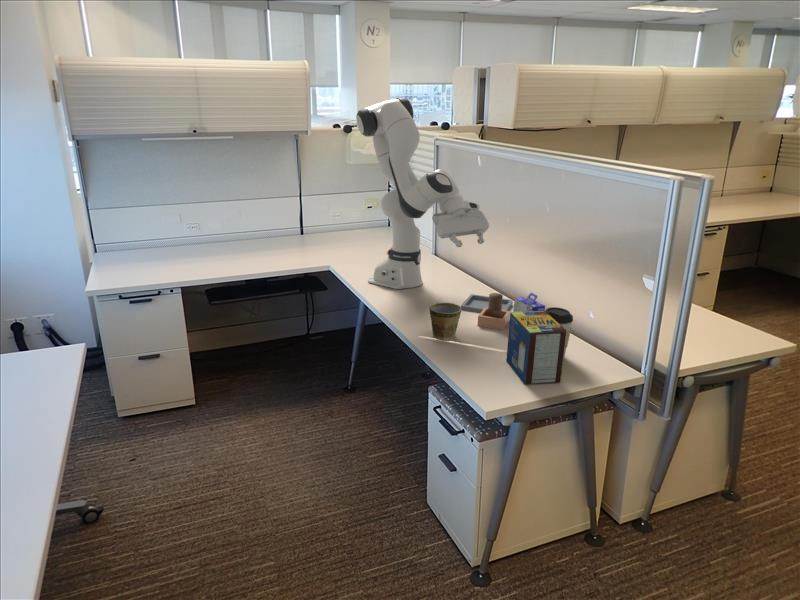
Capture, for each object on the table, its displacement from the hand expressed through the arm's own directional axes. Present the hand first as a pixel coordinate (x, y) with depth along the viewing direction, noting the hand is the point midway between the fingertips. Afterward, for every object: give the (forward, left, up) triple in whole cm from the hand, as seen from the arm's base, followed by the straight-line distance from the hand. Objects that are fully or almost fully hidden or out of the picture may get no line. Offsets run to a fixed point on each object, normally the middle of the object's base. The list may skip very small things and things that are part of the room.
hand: (471, 244), depth 194 cm
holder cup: (+11, -6, -25) cm, 28 cm away
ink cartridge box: (+23, -12, -25) cm, 37 cm away
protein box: (+29, -36, -26) cm, 53 cm away
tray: (+5, +9, -25) cm, 27 cm away
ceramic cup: (-2, -22, -25) cm, 34 cm away
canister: (+11, -6, -25) cm, 28 cm away
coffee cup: (+33, -24, -25) cm, 48 cm away
